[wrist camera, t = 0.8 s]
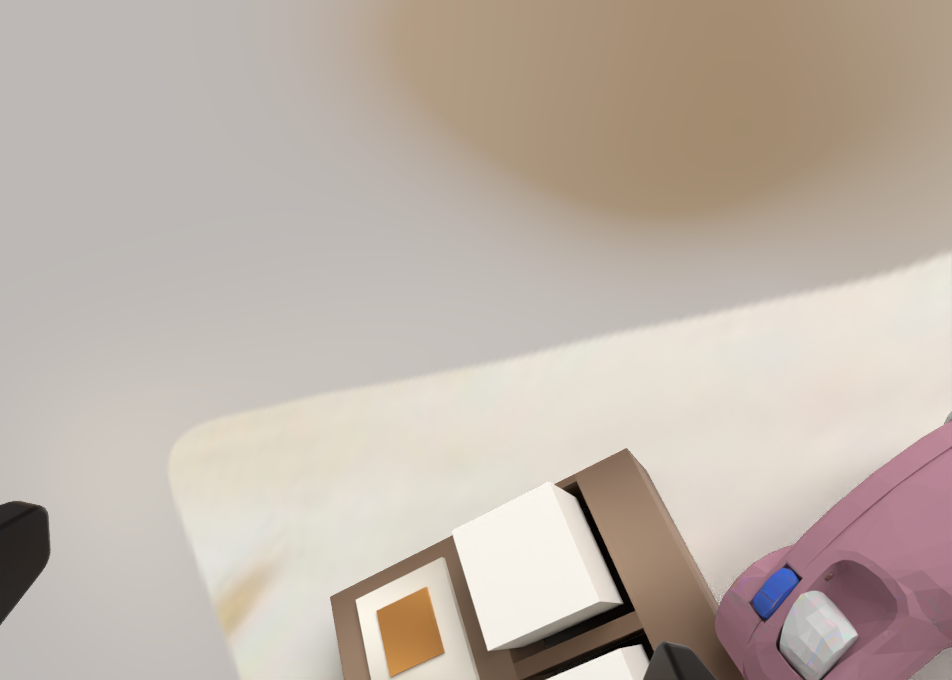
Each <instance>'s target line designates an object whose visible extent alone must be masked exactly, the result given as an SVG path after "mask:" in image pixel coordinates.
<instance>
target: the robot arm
mask: <svg viewBox="0 0 952 680" xmlns="http://www.w3.org/2000/svg"><path fill="white" fill-rule="evenodd" d="M49 556H50V534H49V517H48V512H47V510H46V509H45V508H44V507H42V506H40V505H36V504H31V503H26V502H22V501H12V502H8V503H5V504H2V505H0V625H1V624H2V622H3V621H4V620H5V618H6V617H7V616H8V615H9V613H10V612H11V611H12V610H13V608H14V607H15V606H16V604H17V603H18V602H19V600H20V599H21V598H22V596H23V595H24V594H25V593H26V591H27V590H28V589H29V587H30V586H31V585H32V584H33V582H34V581H35V580H36V578H37V577H38V576H39V575H40V573H41V572H42V571H43V569H44V568H45V566H46V564H47V562H48V559H49ZM643 680H717V678H716V677H715V676H714V675H713V674H712V672H711V671H710V670H709V669H708V668H707V666H706V665H705V664H704V663H703V662H702V660H701V659H700V658H699V657H698V656H697V655H696V653H695V652H694V651H693V650H692V649H691V648H689V647H688V646H685V645H681V644H677V643H672V642H667V641H662V642H660V643H659V644H658V645H657V647H656V649H655V651H654V654H653V656H652V658H651V661H650V663H649V666H648V668H647V670H646V673H645V675H644V678H643Z"/></svg>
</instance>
